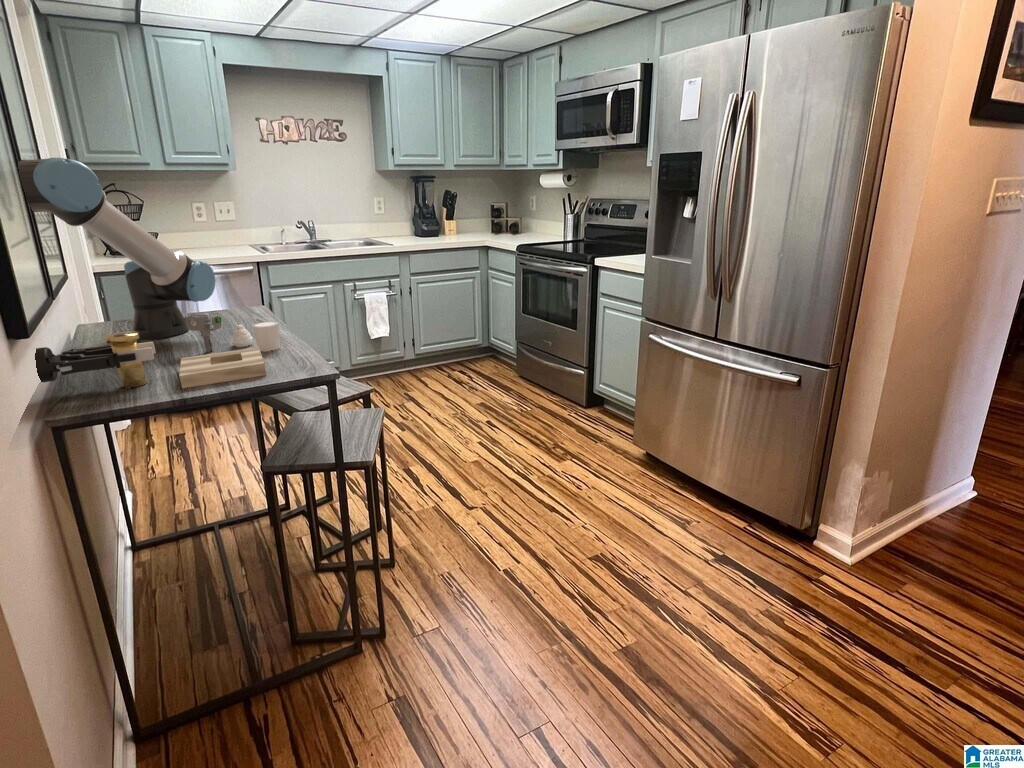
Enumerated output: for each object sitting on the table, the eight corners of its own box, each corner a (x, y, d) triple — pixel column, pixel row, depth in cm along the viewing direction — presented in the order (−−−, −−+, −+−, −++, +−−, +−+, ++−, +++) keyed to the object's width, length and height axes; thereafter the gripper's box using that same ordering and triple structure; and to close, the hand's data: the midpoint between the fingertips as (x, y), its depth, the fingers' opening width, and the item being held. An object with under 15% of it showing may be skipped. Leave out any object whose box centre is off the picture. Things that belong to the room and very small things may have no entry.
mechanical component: (222, 353, 162) (215, 317, 158) (189, 352, 164) (181, 316, 160) (229, 350, 164) (222, 315, 161) (196, 349, 166) (189, 314, 163)
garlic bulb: (236, 322, 171) (254, 322, 170) (240, 342, 173) (257, 342, 172) (224, 327, 165) (242, 327, 165) (229, 347, 167) (246, 348, 167)
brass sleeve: (120, 383, 140) (106, 333, 136) (151, 378, 143) (139, 329, 139) (117, 391, 135) (103, 339, 131) (149, 386, 137) (136, 335, 133)
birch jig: (183, 369, 149) (181, 358, 148) (260, 358, 156) (258, 347, 155) (182, 388, 135) (179, 375, 134) (266, 375, 143) (264, 363, 142)
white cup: (284, 344, 169) (280, 320, 167) (280, 351, 162) (275, 326, 160) (259, 346, 168) (254, 321, 166) (253, 352, 161) (248, 327, 159)
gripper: (45, 371, 138) (159, 356, 147) (25, 395, 123) (154, 376, 132) (35, 340, 135) (152, 326, 145) (14, 360, 120) (146, 343, 130)
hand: (153, 350), depth 138 cm, fingers closed on brass sleeve, 5 cm apart
